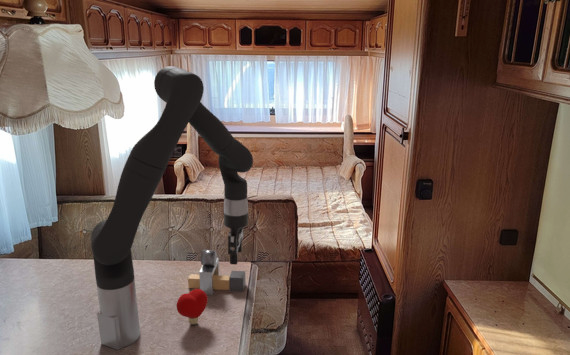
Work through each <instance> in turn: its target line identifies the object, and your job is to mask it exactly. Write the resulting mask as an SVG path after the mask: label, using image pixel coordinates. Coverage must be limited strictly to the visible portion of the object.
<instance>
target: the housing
mask: <svg viewBox="0 0 570 355" xmlns="http://www.w3.org/2000/svg"><path fill="white" fill-rule="evenodd" d="M200 255H201V256H200V264H201V268H200V269H199V272H198V275H199V277H200V288H199V289H201V290H203V291H204V292H205V293H206V294H207V296H209V295H210V296H211V295H214V290H215V289H213V275H220V259H219V257H218V255H217V250H216V249H202V251H201V254H200Z"/></svg>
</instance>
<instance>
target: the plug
mask: <svg viewBox="0 0 570 355" xmlns="http://www.w3.org/2000/svg"><path fill="white" fill-rule="evenodd" d="M187 287H188V289H200V277H199V273H198V274H195V273H194V274H193V273H191V274H189V276H188V278H187ZM245 288H246V271H245V270H231V272H230V274H229V275H221V274H219V275H213V290H227V291H229V292H237V293H238V292H240V293H244V291H245Z"/></svg>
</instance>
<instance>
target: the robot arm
mask: <svg viewBox="0 0 570 355" xmlns="http://www.w3.org/2000/svg"><path fill="white" fill-rule="evenodd" d="M153 84H154V85H153V86H154V91H155V93H156V94H157V96H158V97H159V98H160V99H161V100H162V101H163V102H165V103H166V104H165V107H164V109H163V110H162V113H161V115H160V117H159V119H158V121H157V123H156V124H155V125H153V127H152V128H151V129H150V130H149V131H148V132H147V133H146V134H144V135H143V136H142V137H141V138H140V139H139V140H138V141H137V142H136V143H135V144H134V146H133V147H132V148H131V151H130V152H129V155H128V157H127V158H126V161H125V163H124V166H123V168H122V171H121V175H120V178H119V182H118V184H117V189H116V194H115V198H114V202H113V205H112V208H111V211H110V212H109V214H108V217H107V218H106V219H105V220H102V221H100V222H98V223H97V224H96V225H95V226H94V228H93V229H92V231H91V235H90V245H91V246H90V248H91V252H92V257H93V265H94V275H95V281H96V282H95V283H96V287H97V288H96V291H97V297H98V305H99V311H97V313H96V316H97V322H98V329H99V330H98V332H99V339H100V344H101V345H103V346H107V347H108V348H109V347H110V348H112V349H114V350H117V351H119V350H120V349H122V348H125V347H129V346H130V345H132V344H134V343H136V342H137V340H138V339H139V338H140V336H141V330H140V329H141V328H140V320H139V319H140V318H139V310H138V309H139V308H138V300H137V289H136V280H135V270H134V264H133V257H132V256H133V255H132V254H133V253H132V248H133V244H134V241H135V237H136V234H137V232H138V229H139V225H140V222H141V220H142V218H143V216H144V214H145V212H146V210H147V208H148V206H149V205H150V202H151V200H152V198H153V196H154V194H155V193H156V190H157V189H158V186H159V184H160V182H161V180H162V178H163V175H165V174H164V173H165V172H166V170H167V167H168V164H169V163H170V162H169V161H170V160H171V158H172V155H173V153H174V151H175V149H176V147H177V145H178V143H179V141H180V138H181V137H182V135H183V132H184V131H185V129H186V128H187V126H188V124H190V125H191V127H192V128H193V130H195V131H196V133H197V134H198V135H199V136H200V137H201V138H202V140H203V141H204V142H205V143H206V144H207V145H208V147H209V148H210V149H211V150H212V151H213V152H214V153H215V154H216V155H218V166H219V171H220V175H221V177H222V181H223V185H224V189H223V190H224V192H223V193H224V200H223V224H224V226H225V227H226V228H229V229H230V231H228V236H227V241H228V242H227V243H228V244H227V245H228V246H227V248H228V251H227V253H228V255H229V259H230V260H229V262H230V263H229V264H230V265H237V264H238V256H239V255H238V253H242V251H243V250H242V249H243V247H242V246H243V239H244V228H245V227H247V226H248V223H249V202H248V181H247V180H246V179H245V178H243V177H242V176H240V175H239V173H247V172H249V171H250V170H251V168H252V167H253V165H254V157H253V154H252V153H251V151H250V150H249V149H248V148H247V146H245V145H244V144H243V143H242V142H240V141H239V140H238V139H236V138H235V137H234V136H233V135H232V133H231V132H230V131H229V129H228V128H227V127H226V125H225V124H224V123H223V122H222V121H221V120H220V119H219V118H218V117H217V116H216V115H214V113H213V112H211V111H210V109H208V108H207V107H206V106H205V105H204V104H203V103H202V102H201V101H202V98H203V97H204V96H203V95H204V92H205V91H204V89H205V88H204V87H205V86H204V83H203V80H202V78H201V77H200V76H199V75H197V74H195V73H194V72H190V71H188V70H186V69H183V68H180V67H178V66H173V65H170V66H169V65H168V66H165V67H162V68H161V69H160V70H158V72H157V74H156V75H155V78H154V82H153ZM233 248H234V249H233Z"/></svg>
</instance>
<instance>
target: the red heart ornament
mask: <svg viewBox="0 0 570 355" xmlns="http://www.w3.org/2000/svg"><path fill="white" fill-rule="evenodd" d="M208 300H209V297H208V295H207V294H206V293H205V292H204V291H203V290H201V289H200V288H193V290H191V291H189V292H188V293H183V294H181V295H180V296H179V297H178V299H177V302H176V305H175V306H176V307H175V308H176V311H177V312H178V313H179V314H180V315H181V316H183V317H186V318H187V319H188V324H190V325H192V326H193V325H196V324H197V323H198V322H199V317H201V315H202V314H203V313H204V311H205V310H206V308H207V306H208Z"/></svg>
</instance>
